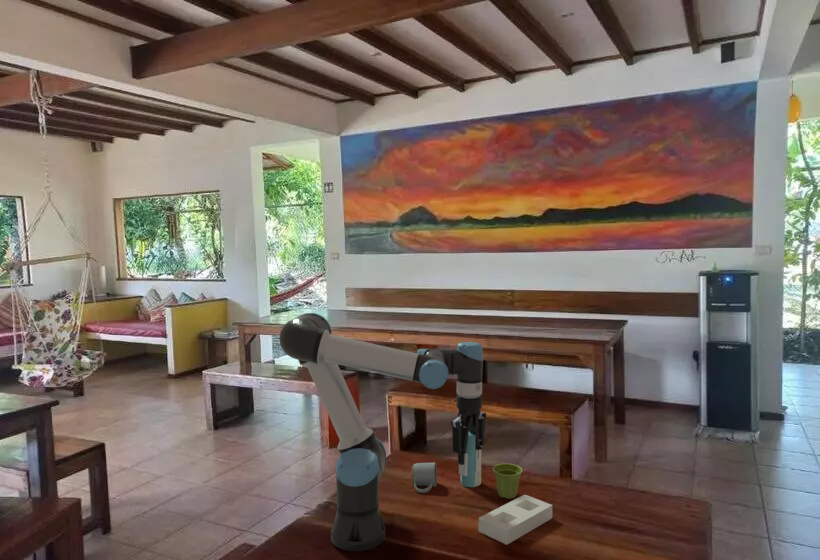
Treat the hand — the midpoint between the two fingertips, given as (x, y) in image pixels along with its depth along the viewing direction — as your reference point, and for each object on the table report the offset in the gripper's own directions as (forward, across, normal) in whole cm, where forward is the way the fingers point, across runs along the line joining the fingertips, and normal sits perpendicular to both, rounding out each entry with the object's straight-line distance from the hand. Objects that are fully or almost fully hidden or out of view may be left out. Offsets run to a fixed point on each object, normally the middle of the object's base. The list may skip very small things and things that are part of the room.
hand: (468, 472), depth 171 cm
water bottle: (+14, +19, +16) cm, 29 cm away
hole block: (+14, +7, -12) cm, 20 cm away
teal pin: (+4, 0, 0) cm, 4 cm away
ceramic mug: (+15, +6, +25) cm, 29 cm away
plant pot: (+14, +21, +2) cm, 26 cm away
